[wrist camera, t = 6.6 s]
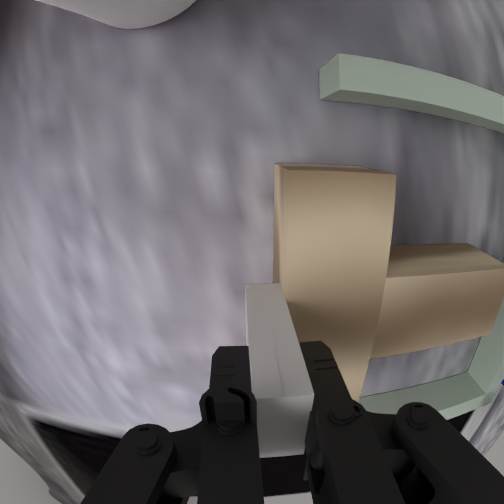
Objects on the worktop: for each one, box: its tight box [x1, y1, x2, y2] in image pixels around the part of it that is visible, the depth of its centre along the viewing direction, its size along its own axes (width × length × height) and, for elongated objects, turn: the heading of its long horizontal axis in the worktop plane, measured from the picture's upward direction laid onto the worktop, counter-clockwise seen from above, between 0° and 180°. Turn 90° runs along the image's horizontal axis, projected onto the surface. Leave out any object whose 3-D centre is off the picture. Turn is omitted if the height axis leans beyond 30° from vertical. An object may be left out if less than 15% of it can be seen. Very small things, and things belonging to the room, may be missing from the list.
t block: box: [273, 164, 504, 402], centre depth 14 cm, size 12×12×4 cm
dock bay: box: [319, 53, 504, 420], centre depth 15 cm, size 21×16×3 cm
